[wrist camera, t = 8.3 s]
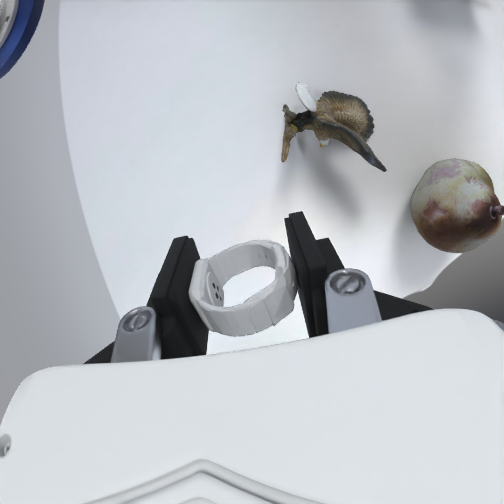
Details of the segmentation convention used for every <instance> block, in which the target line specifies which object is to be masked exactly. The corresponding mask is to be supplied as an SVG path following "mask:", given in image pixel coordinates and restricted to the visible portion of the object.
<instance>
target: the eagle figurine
mask: <svg viewBox="0 0 504 504" xmlns="http://www.w3.org/2000/svg"><path fill="white" fill-rule="evenodd" d="M295 90H296V92H297V95H298V97H299V99H300V101H301V102H302V104H303V105H304V106H305V107H306V108H307V109H308V110H307V111H305V112H303V113H298V114H295V113H294V112H291V111H290V110H289V108H288V106H287V105H286V104H284V106H283V108H284V109H283V112H285V115H284V117H285V118H286V122H285V131H284V136H283V148H282V162H284V161H285V160H286V159H287V156H288V153H289V147H290V141H291V139H292V138H293V137H294V136H296V133H297V132H302V131H304V130H305V129H308V130H314V132H315V134H316V137H317V138H318V139H319V141H320V143H321V145H320V147H323V146H327V145H328V143H329V138H333V139H336V140H338V141H341V142H343V143H344V144H346V145H347V146H348V147H349V148H351V149H352V150H353V151H355V152H357V153H358V154H360V155H361V156H362V157H363V158H364V159H365V160H366V161H367V162H369V163H370V164H371V165H373V166H375V167H377V168H379V169H380V170H382V171H383V172H385V171H387V170H386V168H385V167H384V166H383V165H382V163H381V162H380V161H379V160H378V159H377V158H376V156H375V155H374V153H373V151H372V150H371V148H370V147H369V146H368V144H367V143H366V142H365V141H366V139H367V138H369V137H370V134H372V133H373V128H374V124H373V122H372V121H373V117H372V116H371V115H369V113H370V110H368V109H367V105H366V104H365V103H364V102H362V100H361V99H359V98H358V97H356V96H355V97H354V96H352V95H347V94H344V93H339V92H335V91H329V92H324V93H323V94H322V97H320V100H318V101H316V100H314V99H313V97H312V96H311V94H310V91H309V89H308V87H307V86H306V85H305V84H302V83H298V84H296V89H295Z"/></svg>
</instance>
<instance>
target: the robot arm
mask: <svg viewBox="0 0 504 504" xmlns="http://www.w3.org/2000/svg"><path fill="white" fill-rule="evenodd" d="M18 2H19V0H0V48H1V47H2V45H3V44H4V42H5V40H6V38H7V37H8V35H9V33H10V31H11V28H12V26H13V23H14V21H15V17H16V14H17V10H18ZM284 220H285V226H286V231H287V237H288V243H289V248H290V254H291V260H292V261H293V263H294V267H295V270H296V277H297V290H298V294H299V298H300V302H301V306H302V310H303V314H304V318H305V322H306V326H307V330H308V335H309V338H307V339H302V340H297V341H292V342H287V343H282V344H276V345H270V346H265V347H259V348H252V349H246V350H240V351H233V352H226V353H218V354H210V355H206V351H207V342H208V333H209V330H208V329H207V327H206V326H205V324H204V322H203V321H202V319H201V317H200V316H199V314H198V313H197V311H196V309H195V308H194V306H193V304H192V303H191V301H190V299H189V297H190V296H189V288H190V283H191V279H192V275H193V270H194V266H195V263H196V261H198V260H199V259H200V256H199V253H198V251H197V248H196V245H195V242H194V240H193V238H188V236H183V237H178V238H174V239H173V242H172V244H171V246H170V249H169V251H168V254H167V256H166V259H165V261H164V263H163V266H162V268H161V271H160V273H159V274H158V277H157V279H156V282H155V285H154V287H153V290H152V292H151V295H150V298H149V300H148V303H147V306H143V307H138V308H135V309H133V310H131V311H129V312H128V313H127V314H126V315H124V316H123V318H122V319H121V320H120V323H119V326H118V330H117V335H116V339H115V341H114V342H112V343H111V344H110V345H108V346H107V347H106V348H104V349H103V350H102V351H100V352H99V353H97V354H96V355H95V356H93V357H92V358H91V359H89V360H88V361H87V362H85V363H84V364H77V365H62V366H54V367H50V368H46V369H43V370H40V371H38V372H35V373H33V374H32V375H30V376H28V377H27V378H26V379H24V380H23V381H22V382H21V384H20V385H19V387H18V389H17V390H16V392H15V394H14V396H13V398H12V400H11V402H10V404H9V406H8V408H7V410H6V413H5V415H4V417H3V420H2V422H1V425H0V504H504V324H502V323H501V322H499V321H495V320H491V319H490V318H489V317H487V316H485V315H484V314H482V313H480V312H477V311H472V310H466V309H437V310H434V309H432V308H429V307H427V306H424V305H421V304H417V303H414V302H411V301H407V300H404V299H401V298H398V297H394V296H391V295H388V294H385V293H381V292H378V291H375V290H373V287H372V284H371V281H370V278H369V277H368V275H367V274H366V273H364V272H363V271H360V270H357V269H352V268H350V269H345V268H344V266H343V264H342V262H341V260H340V258H339V256H338V255H337V253H336V251H335V249H334V247H333V245H332V243H331V242H330V240H329V238H324V239H319V240H315V238H314V235H313V233H312V231H311V229H310V227H309V225H308V223H307V220H306V218H305V216H304V214H303V212H302V211H301V212H296V213H291V214H289V218H284Z"/></svg>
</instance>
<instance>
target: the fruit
mask: <svg viewBox="0 0 504 504" xmlns="http://www.w3.org/2000/svg"><path fill="white" fill-rule="evenodd" d="M410 210H411V215H412V218H413V221H414V223H415V225H416V227H417V230H418V232H419V233H420V234H421V236H422V237H423V238H424V239H425V240H426V242H427V243H429V244H430V245H432V246H433V247H435V248H437V249H439V250H441V251H445V252H451V253H464V252H468V251H471V250H473V249H475V248H477V247H478V246H480V245H481V244H483V243H484V242H486V241H487V240H488V239H489V238H491V237H492V236H494V235H495V234H496V233H497V232H498V230H499V228H500V225H501V219H502V215H504V206H502V205H500V202H499V200H498V198H497V196H496V195H495V194H494V188H493V183H492V180H491V178H490V177H489V175H488V173H487V172H486V171H485V170H484V169H483V168H482V167H481V166H480V165H478V164H476V163H474V162H471V161H467V160H460V159H447V160H443V161H440V162H437V163H435V164H434V165H432V166H431V167H430V168H428V170H427V171H426V172H425V174H424V176H423V177H422V179H421V180H420V182H419V183H418V185H417V187H416V189H415V191H414V193H413V196H412V198H411V203H410Z"/></svg>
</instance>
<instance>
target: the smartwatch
mask: <svg viewBox="0 0 504 504" xmlns="http://www.w3.org/2000/svg"><path fill="white" fill-rule="evenodd" d="M258 266H267V267H271V268H274V269H275V280H274V281H273V282H272V284H270V285H269V286H267V287H265V288H264V289H262V290H261V291H259V292H258V293H256V294H255V295H253V296H252V297H250V298H248V299H247V300H246V301H245V302H243V303H242V304H239V305H235V306H232V307H223V304H224V291H223V289H222V288H223V286H224V284H225V283H226V282H227V281H228V280H229V279H230V278H231V277H233V276H235V275H237V274H240V273H242V272H244V271H247V270H249V269H251V268H254V267H258ZM296 294H297V277H296V270H295V267H294V263H293V261H292V260H291V258H290V256H289V254H288V253H287V251H286V250H285V248H284V247H283V246H281V245H280V244H279V243H276V242H273V241H269V240H252V241H249V242H244V243H241V244H238V245H235V246H232V247H230V248H228V249H225V250H223V251H221V252H219V253H218V254H216V255H214V256H212V257H211V258H209V259H207V258H206V259H199V260H198V261H196V263H195V266H194V270H193V275H192V279H191V283H190V288H189V296H190V297H189V299H190V301H191V303H192V304H193V306H194V308H195V309H196V311H197V313H198V314H199V316H200V317H201V319H202V321H203V322H204V324H205V326H206V327H207V329H208V330H210V331H213V332H218V333H220V334H223V335H228V336H234V337H236V336H245V335H252V334H254V333H255V332H256V333H258V332H260V331H263V330H264V329H267V328H268V327H270V326H272V325H274V326H275V325H276V324H277V323H278V322H279V321H280V320H282V319H283V318H285V317H286V316H287V315H289V314H290V313H291V312H292V311H293V309H294V302H293V301H294V300H295V297H296Z"/></svg>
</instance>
